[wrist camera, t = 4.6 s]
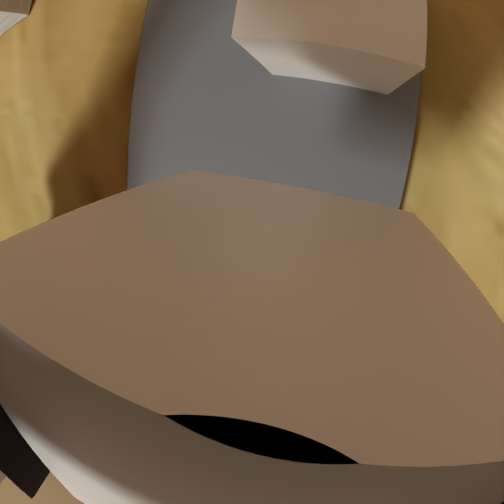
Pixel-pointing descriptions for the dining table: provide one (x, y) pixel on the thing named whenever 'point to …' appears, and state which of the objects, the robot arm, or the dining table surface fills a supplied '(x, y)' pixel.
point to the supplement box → (12, 12)
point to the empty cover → (250, 350)
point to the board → (258, 114)
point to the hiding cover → (336, 39)
